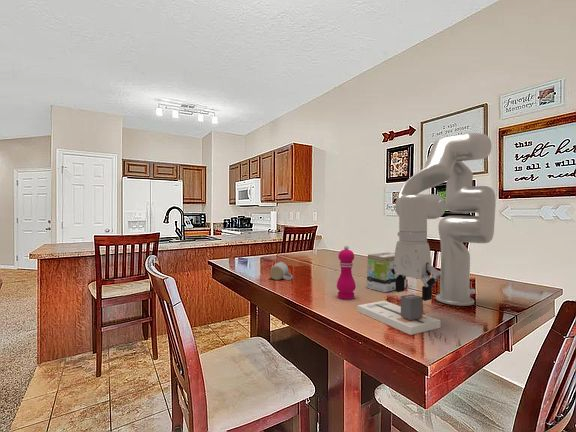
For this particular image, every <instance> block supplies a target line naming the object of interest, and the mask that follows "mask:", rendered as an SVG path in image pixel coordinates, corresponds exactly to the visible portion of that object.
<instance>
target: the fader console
mask: <svg viewBox="0 0 576 432" xmlns="http://www.w3.org/2000/svg"><path fill="white" fill-rule="evenodd" d="M356 311H357V313H359V314H363V315H364V316H367V317H369V318H372V319H374V320H376V321H377V322H380V323H383V324H385V325H387V326H389V327H392V328H393V329H396V330H398V331H400V332H403V333H405V334H408V335H410V336H413V335H416V334H421V333H424V332H428V331H432V330H437V329H441V319H437V318H434V317H431V316H429V315H426V314H423V318H419V319H414V320H408V319H406V318H403V317H401V305H397V304H396V303H395V304H394V303H392V302H389V301H387V300H382V301H381V300H379V301H375V302H369V303H364V304H357V306H356Z"/></svg>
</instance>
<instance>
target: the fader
mask: <svg viewBox="0 0 576 432" xmlns="http://www.w3.org/2000/svg"><path fill="white" fill-rule="evenodd" d="M423 304H424V301H423V300H422V295H417V294H413V293H411V294H406V295H401V296H400V306H401V317H403V318H406V319H408V320H414V319H419V318H423V315H424V314H423V312H424V310H423V307H424V306H423Z"/></svg>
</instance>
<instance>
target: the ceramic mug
mask: <svg viewBox="0 0 576 432" xmlns="http://www.w3.org/2000/svg"><path fill="white" fill-rule="evenodd" d="M269 276H270V278H271V279H272V280H274V281H280V280H282V279H284V280H286V281H291V280H292V279H293V275H292V274H291V273H290V272H289V267H288V265H287V264H286V263H285V262H282V261H279V262H276V263H274V265H273V266H271V268H270V269H269Z"/></svg>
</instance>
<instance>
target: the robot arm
mask: <svg viewBox="0 0 576 432" xmlns="http://www.w3.org/2000/svg"><path fill="white" fill-rule="evenodd" d="M491 140H492V139H490V137H489V136H488V135H487V134H485V133H478V132H467V133H466V132H465V133H460V134H453V135H452V134H451V135H447V136H443V137H440V138H438V139H436V140H435V141H434V142H433V144H432V146H431V149H430V152H429V154H428V157H427V159H426V162H425V164H424V167H423V168H422V169H420V170H419V171H417V172H416V173H415V174H413V175H412V176H411V177H410V178H408V179H407V180H406V181H404V183H403V184H402V186H401V188H400V190H399V192H398V195H397V197H396V201H395V206H394V208H395V213H396V215H398V217H399V218H398V230H399V231H398V232H397V237H398V238H399V239H398V240H397V242H396V244H395V249H394V253H395V258H394V261H392V262H390V263H389V265H390V268H391V272H392V273H393V275H394V278H395V290H394V291H395V292H396V293H401V292H405V289H406V287H405V280H404V278H402V277H403V276H406V278H411V279H416V280H419V279H420V281H421V283H422V284H423V285H422V286H421V288H422V289H421V292H422V293H421V297H422V300H423V302H426V301H431V300H432V299H433V287H434V286H435V284H437V282H438V281H439V279H440V289H439V290H440V292H439V294H438V293H437V294H436V295H435V299H436V301H438V302H439V303H442V304H443V303H444V304H447V305H451V306H459V307H460V306H461V307H462V306H463V307H464V306H465V307H466V306H473V305H474V304H475V300H474V298H472V297H471V295H475V294H476V289H475V288H470V279H471V277H470V276H471V274H470V273H471V270H470V267H471V254H470V251H469V250H468V248H467V247H466V245H465V244H464V243H470V244H488V243H490V242H491V241H492V240H493V238H494V234H495V220H496V219H495V218H496V204H497V203H496V201H497V200H496V194H495V190H494V189H493V188H492V187H490V186H487V185H476V186H474V185H473V179H474V177H473V176H474V174H473V171H472V170H471V169H470V168H469V167H468V166H467V165H466V164H465V163H464V162H466V161H468V162H469V161H476V160H484V159H486V158H488V157H489V155H490V154H491V151H492V141H491ZM445 182H446V186H445V199H444V198H443V197H442V196H441V195H439V194H437V193H436V194H435V193H434V194H433V193H432V194H431V193H428V194H427V193H426V194H424V193H423V194H421V192H424V191H426V190H429V189H431V188H434V187H437V186H440V185H441V184H443V183H445ZM446 210H447V211H449V212H451V213H461V214H462V213H466V214H467V213H469V214H470V213H476V214H478V215H476V216H475V215H447V216H444V217H442V216H443V215H444V214H445V211H446ZM441 217H442V218H441ZM439 218H441V219H440V220H439V221H438V225H437V226H438V235H439V242H440V271H439V270H438V269H437V268H435V267H434V266H433V265H432V256H431V255H432V253H431V250H430V248H431V247H430V245H429V244H430V243H429V242H428V220H435V219H436V220H437V219H439Z"/></svg>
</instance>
